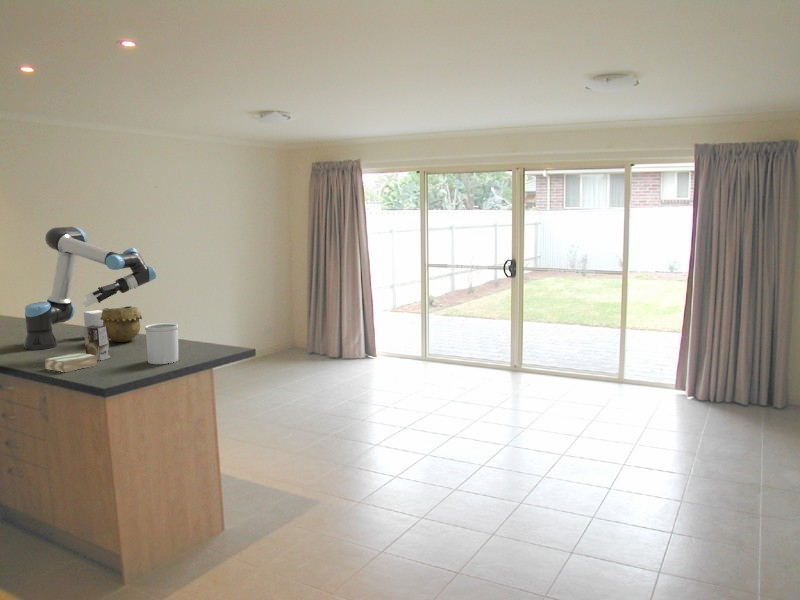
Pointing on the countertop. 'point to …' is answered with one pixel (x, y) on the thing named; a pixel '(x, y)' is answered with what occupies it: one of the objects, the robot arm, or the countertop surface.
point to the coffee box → (97, 341)
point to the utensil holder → (162, 343)
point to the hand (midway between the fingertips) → (85, 301)
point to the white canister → (93, 318)
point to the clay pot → (121, 322)
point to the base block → (71, 362)
